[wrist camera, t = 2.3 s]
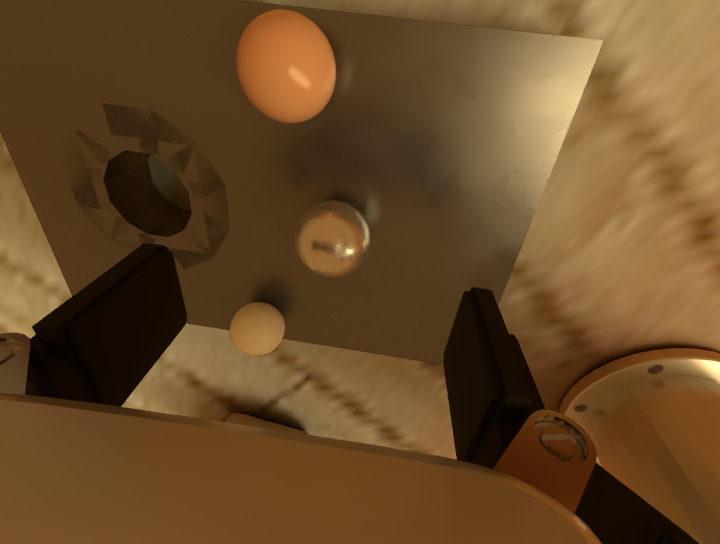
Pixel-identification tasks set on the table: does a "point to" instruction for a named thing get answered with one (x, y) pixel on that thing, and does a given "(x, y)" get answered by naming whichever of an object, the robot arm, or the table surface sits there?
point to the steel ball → (332, 238)
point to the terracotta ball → (286, 66)
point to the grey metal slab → (288, 157)
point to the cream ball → (257, 328)
